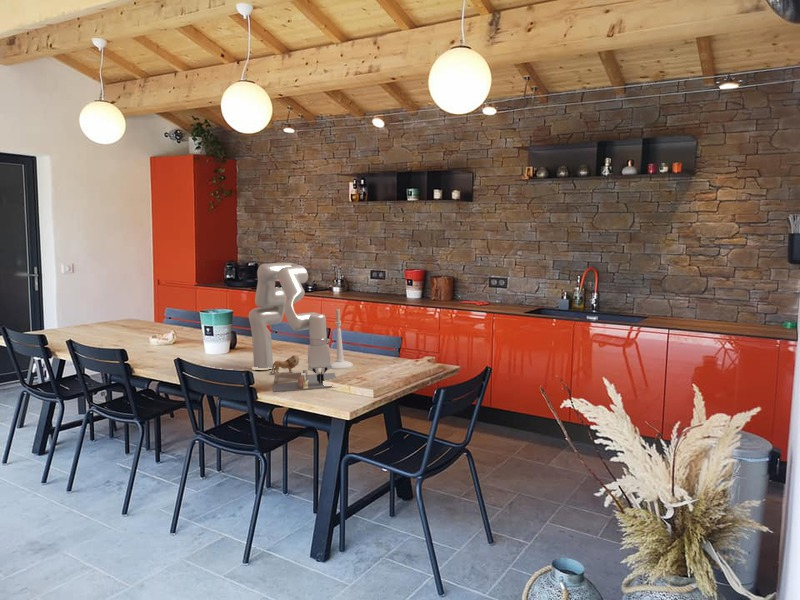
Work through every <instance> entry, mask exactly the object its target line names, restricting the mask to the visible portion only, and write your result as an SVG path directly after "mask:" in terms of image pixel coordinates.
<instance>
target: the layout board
mask: <svg viewBox="0 0 800 600" xmlns="http://www.w3.org/2000/svg"><path fill="white" fill-rule="evenodd" d="M302 375H303V374H301V376H302ZM307 376H308V381H306V382H305V383H304V385H303V388H299V387H298V382H286V383H275V382H274V384H273V389H272V392H273V393H281V392H282V393H284V392H295V391H306V390H307V391H308V390H309V391H310V390H319V389H320V390H321V389H332V388H331V387H332V386H324V385H323V381H322V383H319V381H317V374H316V373H313V374H307ZM333 378H336V374H335V372H328V373H327V372H325V373H324V381H325V380H329V379H333ZM336 379H337V378H336ZM320 382H321V377H320Z"/></svg>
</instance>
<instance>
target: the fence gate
mask: <svg viewBox="0 0 800 600" xmlns="http://www.w3.org/2000/svg"><path fill="white" fill-rule="evenodd" d="M301 375H302V376H301V377H298V387H299V388H303V385H304V383H305V382H306V373H303V372H302V374H301Z"/></svg>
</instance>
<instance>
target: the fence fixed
mask: <svg viewBox="0 0 800 600" xmlns="http://www.w3.org/2000/svg"><path fill="white" fill-rule="evenodd" d="M279 373H280V372H279V371H278V372H276V371H275V372H274V373H273V374H274V375H273V376H274V383H286V382H298V377H301V375H302V374H303V373H306V381H308V376H307V375H308V369H303V370H302V372H292V373H289V372H287V373H280V374H279Z"/></svg>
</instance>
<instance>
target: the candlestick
mask: <svg viewBox="0 0 800 600" xmlns="http://www.w3.org/2000/svg"><path fill="white" fill-rule="evenodd" d="M335 316H336V317H335V319H336V321H335V322H334V324H335V326H336V328H337V329H336V360H335V361H333V362H332V361H331V366H332V369H331V370H346V369H350V368H353V367H354V364H353V363H352V362H350V361H348V360H345V358H344V357H345V356H344V351H343V350H344V348H343V341H342V340H343V339H342V329H341V327H342V321H341V309H340V308H336V309H335Z"/></svg>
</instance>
